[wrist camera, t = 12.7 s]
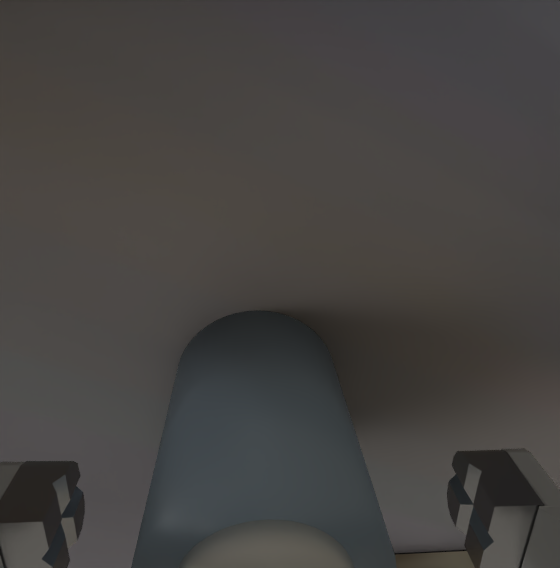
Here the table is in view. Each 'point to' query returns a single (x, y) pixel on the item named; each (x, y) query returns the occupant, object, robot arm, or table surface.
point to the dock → (434, 560)
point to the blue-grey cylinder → (260, 458)
